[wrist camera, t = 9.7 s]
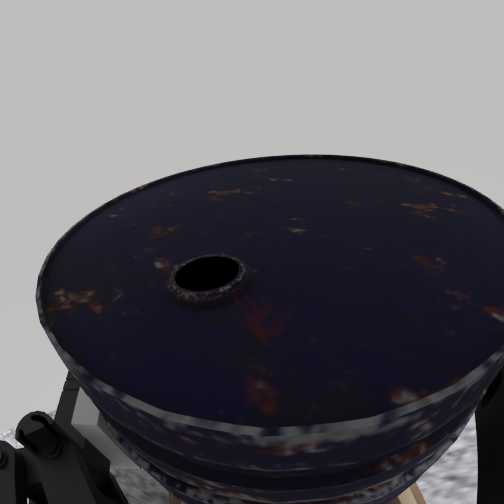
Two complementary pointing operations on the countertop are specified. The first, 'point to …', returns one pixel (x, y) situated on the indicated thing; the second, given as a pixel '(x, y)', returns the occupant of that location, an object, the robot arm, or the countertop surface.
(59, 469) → the robot arm
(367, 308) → the dark blue barrel
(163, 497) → the countertop surface
